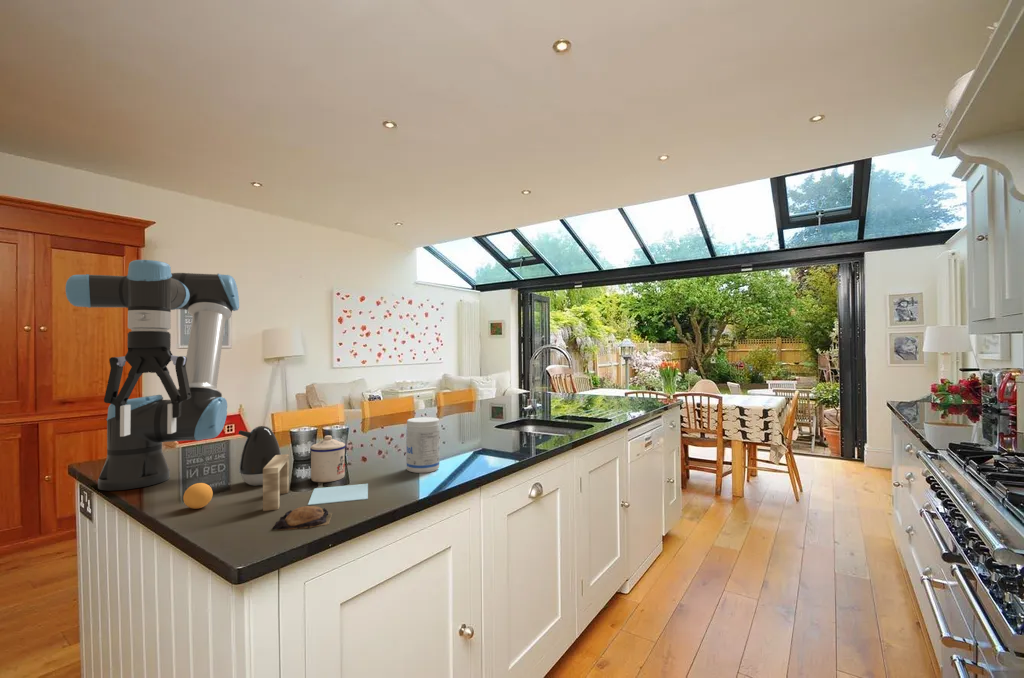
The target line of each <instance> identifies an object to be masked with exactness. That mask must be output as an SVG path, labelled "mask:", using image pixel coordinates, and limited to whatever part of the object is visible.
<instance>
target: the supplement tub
mask: <svg viewBox="0 0 1024 678" xmlns="http://www.w3.org/2000/svg"><path fill="white" fill-rule="evenodd" d="M439 468H440V419H439V418H437V417H433V416H432V417H429V416H423V417H413V418H408V419H407V420H406V470H407V471H409V472H410V473H416V474H425V473H427V474H428V473H432V472H435V471H437V470H439Z"/></svg>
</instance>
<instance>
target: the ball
mask: <svg viewBox="0 0 1024 678" xmlns="http://www.w3.org/2000/svg"><path fill="white" fill-rule="evenodd" d="M213 495H214V492H213V489H212V487H211V486H210V485H209V484H207V483H205V482H197V483H194V484H192V485H190V486H189V487H187V489H185V490H184V494H183V502H184V505H185V506H187V507H188V508H190V509H195V510H196V509H197V510H198V509H201V508H204V507H206V506H207V505H208V504H209V503H210V502H211V501H212V499H213Z"/></svg>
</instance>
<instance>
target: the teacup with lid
mask: <svg viewBox="0 0 1024 678" xmlns="http://www.w3.org/2000/svg"><path fill="white" fill-rule="evenodd" d="M345 448H346V443H345V442H342V441H338V440H337V439H334V438H333V437H332V435H329V434H328V435H325V436H324V438H323V439H322V440H319V442H317V443H314V444H312V445H311V446H310V449H309V450H310V478H311V479H310V480H311V481H312V482H314V483H330V482H336V481H339V480H342V479H343V478H344V477H345V476H346V475H345V474H346V468H345V467H346V465H345V464H346V461H345V460H346V459H345V457H346V456H345V455H346V453H345V452H346V449H345Z"/></svg>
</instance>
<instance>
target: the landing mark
mask: <svg viewBox="0 0 1024 678" xmlns="http://www.w3.org/2000/svg"><path fill="white" fill-rule="evenodd" d="M368 499H369V483H362V484H361V483H360V484H359V483H358V484H347V485H338V486H336V485H335V486H328V487H326V486H325V487H316V488H313V491H312V493H311V496H310V498H309V501H308V503H307V506H316V505H325V504H334V503H342V502H343V503H345V502H354V501H355V502H356V501H363V500H365V501H366V500H368Z"/></svg>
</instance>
